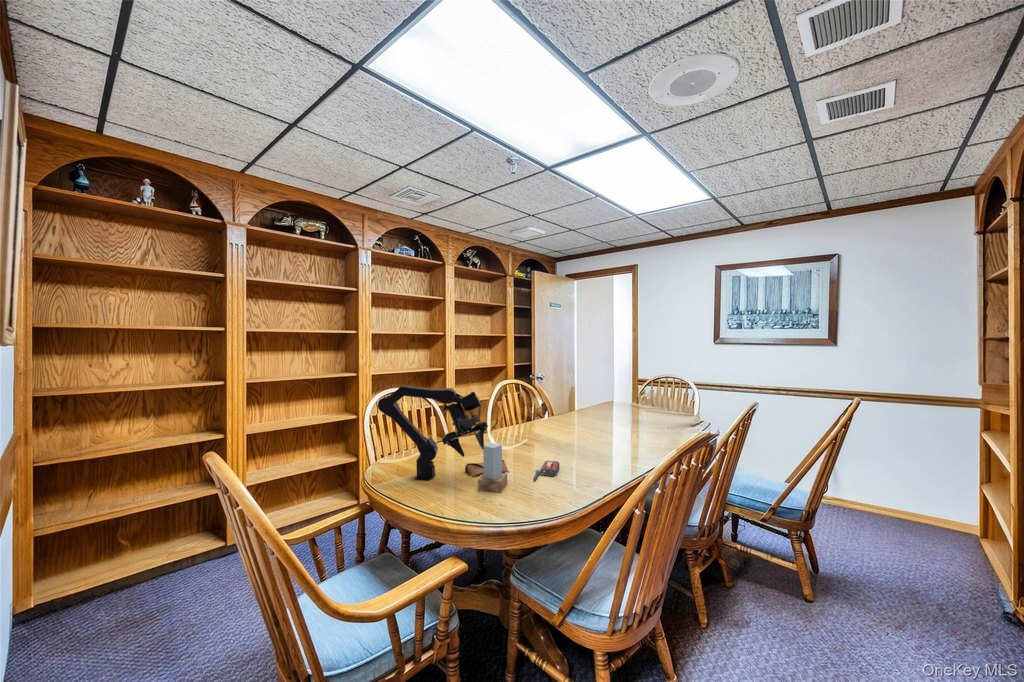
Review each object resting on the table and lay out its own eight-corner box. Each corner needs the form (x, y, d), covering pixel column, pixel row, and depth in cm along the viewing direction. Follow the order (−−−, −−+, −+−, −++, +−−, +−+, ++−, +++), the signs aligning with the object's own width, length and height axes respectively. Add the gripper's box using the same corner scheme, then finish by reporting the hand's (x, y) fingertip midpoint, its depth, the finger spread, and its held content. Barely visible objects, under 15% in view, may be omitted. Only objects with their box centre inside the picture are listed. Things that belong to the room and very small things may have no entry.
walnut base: (478, 490, 148) (478, 479, 148) (485, 481, 157) (485, 471, 157) (501, 492, 146) (501, 481, 146) (507, 483, 154) (507, 473, 154)
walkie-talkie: (540, 466, 176) (531, 482, 157) (540, 456, 176) (531, 471, 157) (560, 467, 174) (553, 484, 155) (560, 457, 174) (553, 473, 154)
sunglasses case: (469, 478, 161) (467, 461, 164) (466, 481, 167) (464, 465, 170) (511, 472, 167) (508, 456, 170) (506, 475, 173) (503, 460, 176)
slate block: (483, 477, 151) (483, 445, 150) (492, 473, 155) (492, 442, 154) (493, 480, 148) (493, 448, 147) (502, 476, 151) (501, 445, 151)
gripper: (445, 415, 150) (460, 453, 145) (485, 403, 161) (501, 438, 156) (435, 426, 158) (450, 463, 153) (475, 414, 169) (489, 447, 164)
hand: (473, 452), depth 156 cm, fingers open, 9 cm apart
